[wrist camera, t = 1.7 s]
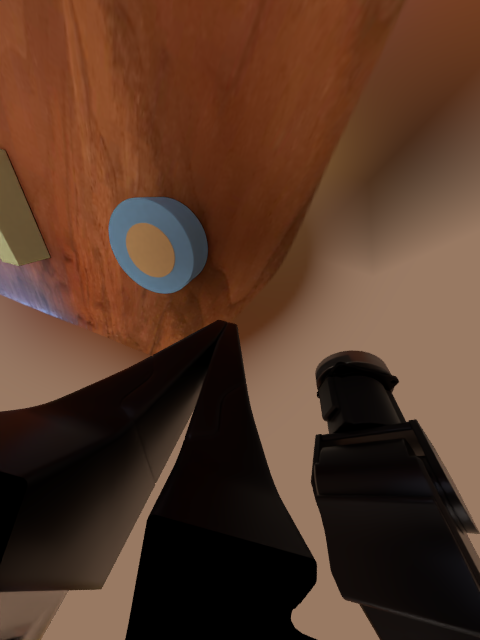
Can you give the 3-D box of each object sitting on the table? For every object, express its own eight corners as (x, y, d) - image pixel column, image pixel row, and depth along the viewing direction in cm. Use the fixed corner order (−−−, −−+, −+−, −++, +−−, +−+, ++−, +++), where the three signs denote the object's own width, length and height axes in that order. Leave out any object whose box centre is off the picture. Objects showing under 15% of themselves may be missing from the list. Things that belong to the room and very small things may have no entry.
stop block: (5, 150, 16) (-47, 142, 13) (50, 257, 21) (19, 266, 19) (-15, 146, 16) (-70, 137, 14) (35, 253, 21) (1, 261, 19)
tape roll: (210, 206, 15) (194, 208, 12) (206, 288, 19) (192, 302, 16) (128, 189, 15) (96, 188, 13) (140, 272, 19) (118, 283, 17)
